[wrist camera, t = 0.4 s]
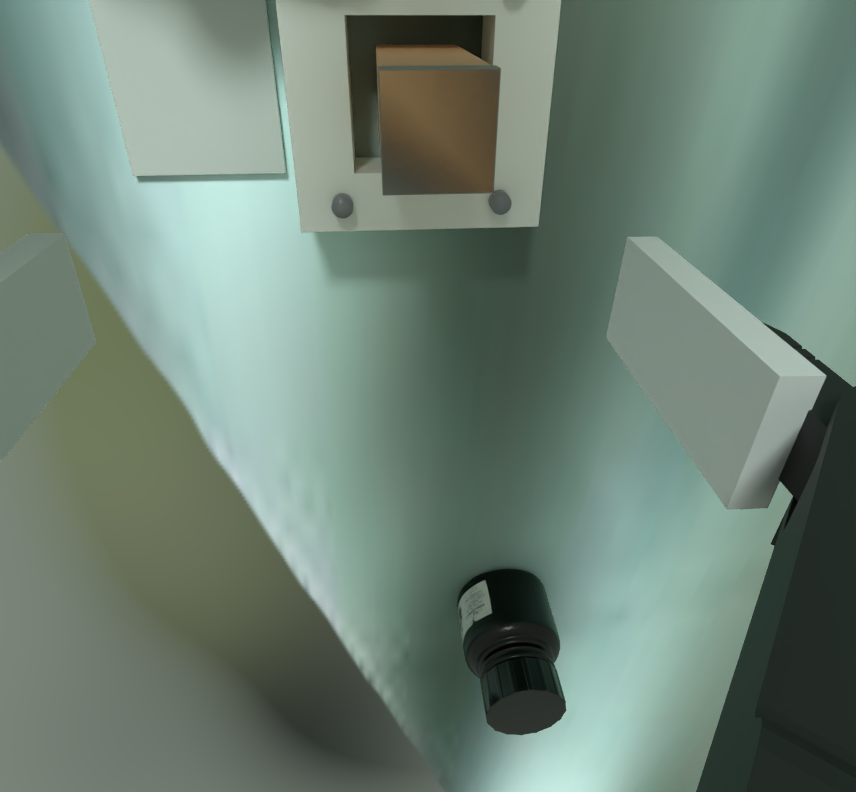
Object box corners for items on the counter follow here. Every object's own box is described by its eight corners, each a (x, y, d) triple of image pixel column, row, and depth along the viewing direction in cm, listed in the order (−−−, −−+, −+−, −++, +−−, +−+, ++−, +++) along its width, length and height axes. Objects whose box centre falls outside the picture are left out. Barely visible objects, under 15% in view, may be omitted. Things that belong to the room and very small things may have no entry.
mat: (90, -4, 32) (87, -4, 32) (265, -4, 33) (264, -4, 32) (135, 174, 37) (132, 175, 37) (286, 171, 38) (285, 173, 37)
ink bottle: (454, 567, 58) (472, 685, 48) (546, 557, 59) (583, 673, 49) (458, 631, 64) (475, 749, 54) (541, 621, 64) (574, 737, 54)
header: (278, -62, 31) (265, -70, 27) (547, -60, 32) (572, -67, 28) (307, 212, 39) (300, 236, 35) (524, 207, 40) (541, 230, 36)
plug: (374, 43, 34) (377, 69, 23) (456, 43, 35) (501, 68, 23) (378, 131, 37) (382, 195, 25) (454, 130, 37) (493, 193, 26)
